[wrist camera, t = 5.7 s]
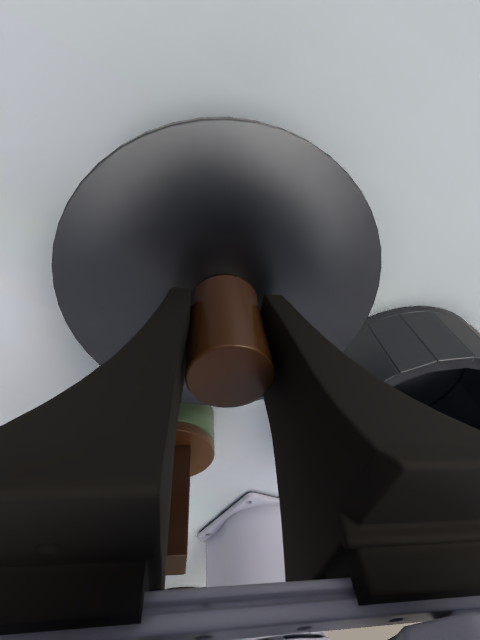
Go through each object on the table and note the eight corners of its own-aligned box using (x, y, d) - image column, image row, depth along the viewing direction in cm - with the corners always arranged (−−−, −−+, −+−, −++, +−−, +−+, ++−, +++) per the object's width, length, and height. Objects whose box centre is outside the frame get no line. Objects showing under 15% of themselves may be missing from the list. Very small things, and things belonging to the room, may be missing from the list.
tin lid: (258, 412, 17) (273, 506, 13) (28, 333, 13) (-45, 438, 9) (431, 239, 12) (536, 313, 8) (141, 6, 8) (78, -66, 4)
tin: (381, 439, 24) (407, 493, 21) (272, 399, 20) (284, 458, 17) (507, 349, 20) (566, 401, 16) (397, 273, 16) (446, 323, 12)
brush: (217, 389, 20) (223, 540, 13) (210, 439, 23) (212, 582, 16) (127, 387, 19) (88, 546, 12) (133, 439, 22) (103, 589, 15)
